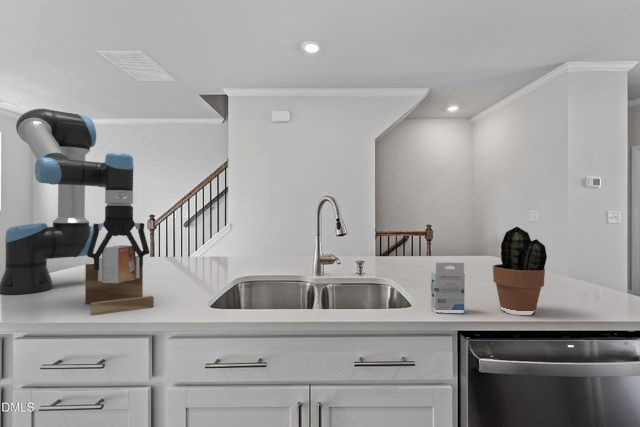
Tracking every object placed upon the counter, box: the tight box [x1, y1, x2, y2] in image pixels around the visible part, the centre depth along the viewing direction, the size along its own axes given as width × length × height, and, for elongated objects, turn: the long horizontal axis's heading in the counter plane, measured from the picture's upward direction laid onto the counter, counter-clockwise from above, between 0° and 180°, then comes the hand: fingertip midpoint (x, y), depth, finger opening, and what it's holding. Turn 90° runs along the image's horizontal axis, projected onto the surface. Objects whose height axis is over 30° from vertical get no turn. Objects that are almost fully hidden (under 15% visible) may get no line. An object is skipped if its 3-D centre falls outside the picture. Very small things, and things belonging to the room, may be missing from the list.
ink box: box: [430, 261, 466, 311], centre depth 114 cm, size 8×5×15 cm, turn 90°
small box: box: [101, 244, 136, 283], centre depth 118 cm, size 8×6×10 cm
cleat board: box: [84, 263, 155, 316], centre depth 118 cm, size 17×16×12 cm
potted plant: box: [492, 226, 548, 311], centre depth 114 cm, size 14×14×25 cm
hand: (119, 279), depth 118 cm, fingers closed on small box, 9 cm apart
